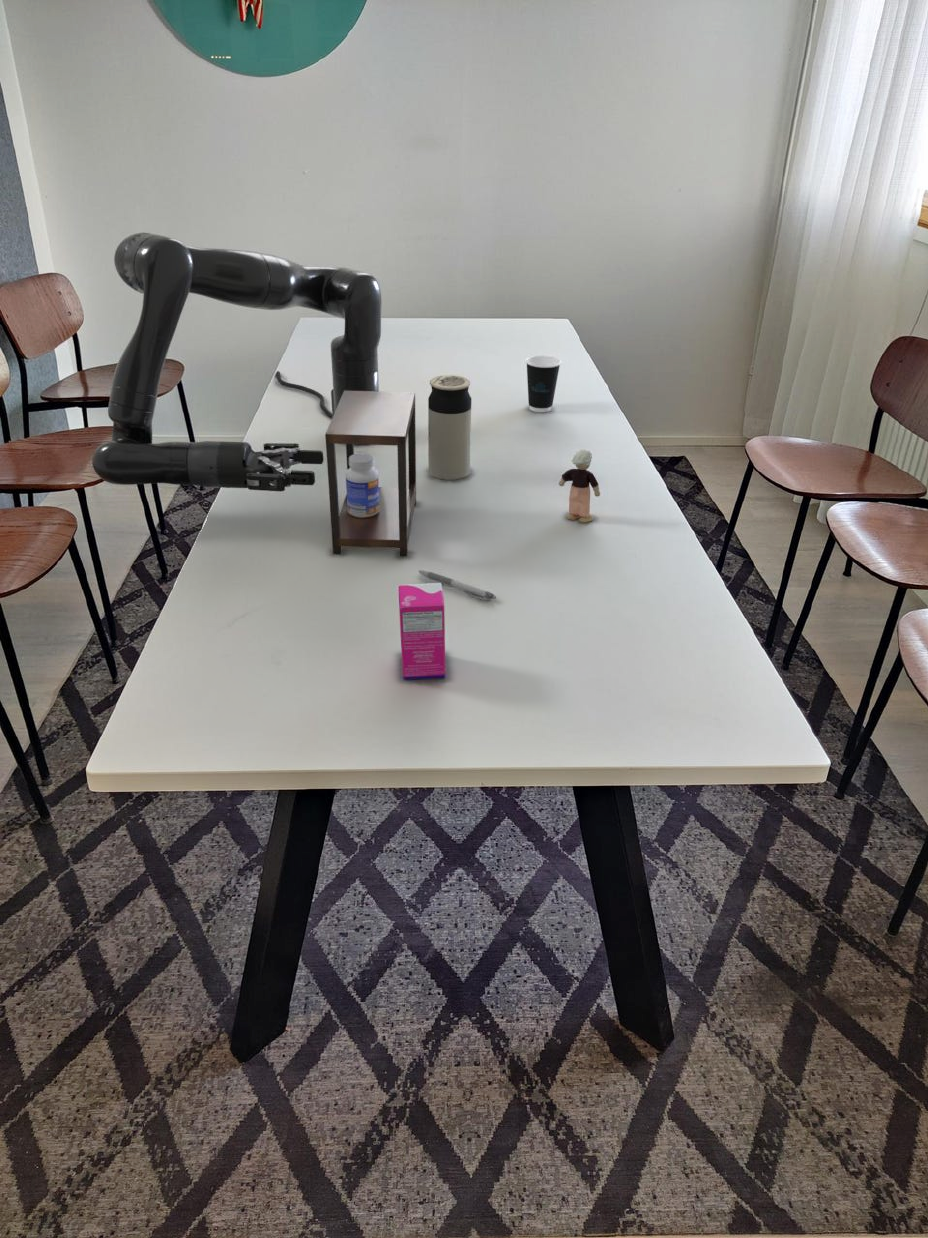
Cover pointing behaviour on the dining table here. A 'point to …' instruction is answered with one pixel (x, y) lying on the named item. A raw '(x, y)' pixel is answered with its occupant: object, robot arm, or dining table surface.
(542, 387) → the dixie cup
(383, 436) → the shelf
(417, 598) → the supplement box
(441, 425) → the travel mug
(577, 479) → the grandmother figurine
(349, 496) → the pill bottle
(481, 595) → the pen
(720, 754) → the dining table surface
